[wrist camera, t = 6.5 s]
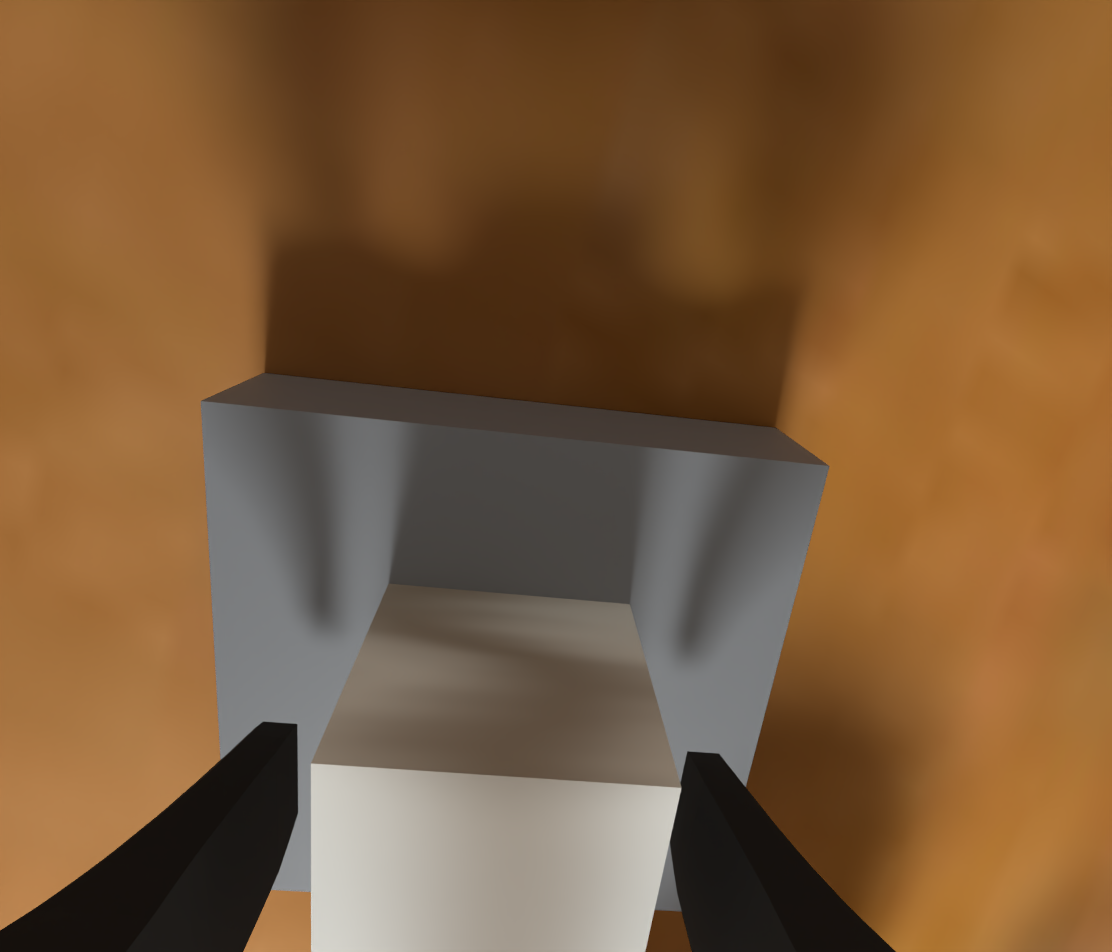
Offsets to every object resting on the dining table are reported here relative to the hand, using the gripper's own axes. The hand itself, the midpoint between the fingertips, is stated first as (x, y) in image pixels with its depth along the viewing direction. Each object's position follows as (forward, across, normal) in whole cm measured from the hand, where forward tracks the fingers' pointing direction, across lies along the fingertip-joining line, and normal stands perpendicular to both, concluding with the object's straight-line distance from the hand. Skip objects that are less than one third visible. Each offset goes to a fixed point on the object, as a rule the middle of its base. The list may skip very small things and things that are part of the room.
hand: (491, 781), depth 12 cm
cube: (+2, 0, 0) cm, 2 cm away
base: (+5, 0, 0) cm, 5 cm away
